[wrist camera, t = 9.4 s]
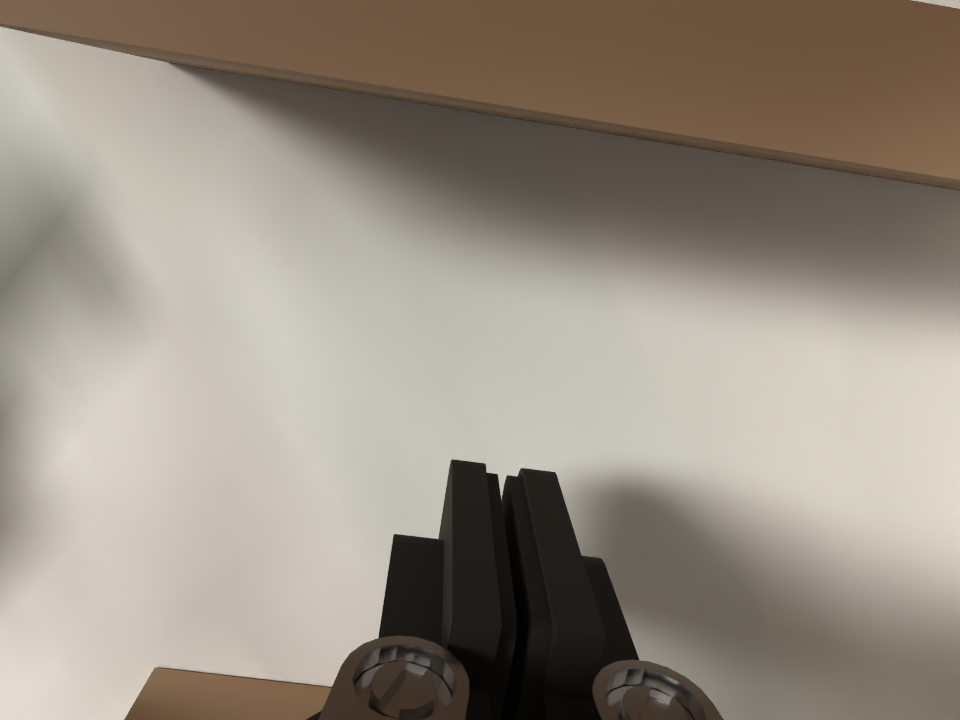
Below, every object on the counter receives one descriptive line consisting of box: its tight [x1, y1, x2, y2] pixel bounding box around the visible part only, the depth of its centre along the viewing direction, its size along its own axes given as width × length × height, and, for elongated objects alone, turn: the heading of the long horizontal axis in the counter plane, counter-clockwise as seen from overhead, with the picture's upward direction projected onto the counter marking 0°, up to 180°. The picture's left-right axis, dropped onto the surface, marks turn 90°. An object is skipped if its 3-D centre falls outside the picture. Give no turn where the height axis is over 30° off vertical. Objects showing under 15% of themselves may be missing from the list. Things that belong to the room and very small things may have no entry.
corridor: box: [0, 0, 960, 720], centre depth 11 cm, size 15×14×6 cm
